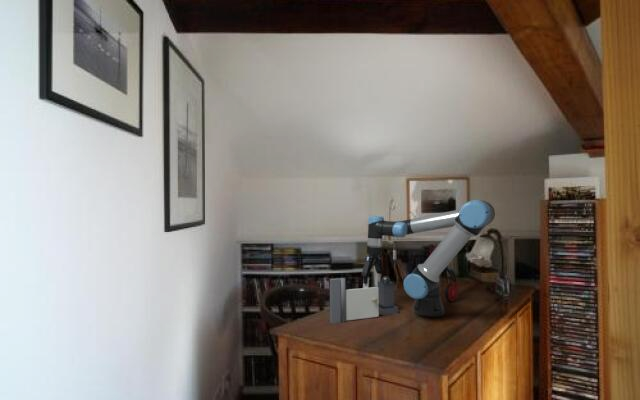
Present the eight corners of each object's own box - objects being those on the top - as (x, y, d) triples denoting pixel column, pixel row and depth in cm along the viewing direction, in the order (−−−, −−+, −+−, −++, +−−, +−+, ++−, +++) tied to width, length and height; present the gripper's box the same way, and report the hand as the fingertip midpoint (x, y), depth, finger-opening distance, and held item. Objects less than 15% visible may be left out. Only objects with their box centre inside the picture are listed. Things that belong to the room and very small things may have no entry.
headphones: (460, 301, 207) (460, 265, 207) (450, 304, 200) (450, 267, 201) (434, 295, 220) (433, 261, 221) (423, 297, 214) (423, 263, 215)
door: (348, 321, 169) (347, 291, 170) (345, 319, 172) (345, 289, 172) (380, 317, 175) (380, 288, 175) (377, 315, 178) (377, 286, 178)
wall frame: (331, 323, 168) (331, 279, 168) (329, 322, 170) (329, 278, 170) (346, 322, 170) (346, 278, 170) (344, 320, 172) (343, 277, 173)
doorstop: (389, 308, 192) (388, 274, 193) (398, 313, 184) (398, 277, 184) (373, 310, 189) (373, 275, 190) (382, 315, 181) (382, 278, 181)
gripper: (378, 244, 199) (375, 283, 199) (356, 247, 178) (353, 290, 178) (391, 245, 195) (388, 285, 195) (370, 248, 174) (367, 293, 174)
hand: (371, 288), depth 187 cm, fingers open, 13 cm apart
